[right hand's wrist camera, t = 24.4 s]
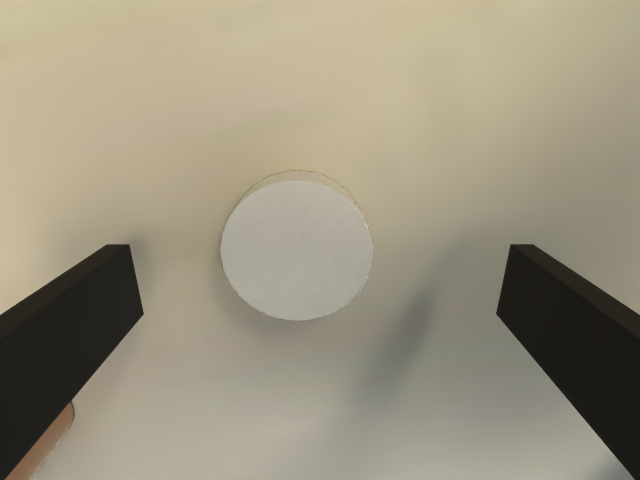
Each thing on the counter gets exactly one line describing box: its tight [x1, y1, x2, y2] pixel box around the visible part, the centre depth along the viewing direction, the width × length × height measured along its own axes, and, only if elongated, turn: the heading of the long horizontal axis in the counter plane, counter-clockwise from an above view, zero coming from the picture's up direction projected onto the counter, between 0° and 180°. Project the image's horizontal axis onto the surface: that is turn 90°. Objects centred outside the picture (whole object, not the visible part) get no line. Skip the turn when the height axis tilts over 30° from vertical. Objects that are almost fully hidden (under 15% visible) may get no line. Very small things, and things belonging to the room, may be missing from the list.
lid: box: [220, 171, 373, 321], centre depth 14 cm, size 6×6×2 cm
